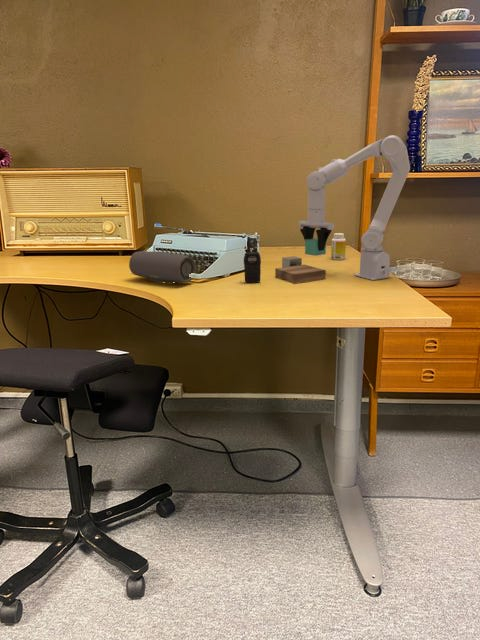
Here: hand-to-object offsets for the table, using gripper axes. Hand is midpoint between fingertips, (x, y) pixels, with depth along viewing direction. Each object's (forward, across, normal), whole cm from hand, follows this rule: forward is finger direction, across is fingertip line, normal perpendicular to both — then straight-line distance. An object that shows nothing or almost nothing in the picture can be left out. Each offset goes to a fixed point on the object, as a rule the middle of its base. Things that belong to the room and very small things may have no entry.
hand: (315, 249), depth 163 cm
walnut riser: (+8, -2, +9) cm, 12 cm away
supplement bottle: (+9, +13, -27) cm, 31 cm away
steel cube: (+9, +8, +3) cm, 12 cm away
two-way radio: (+9, +5, +24) cm, 26 cm away
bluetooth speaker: (+9, +27, +45) cm, 53 cm away
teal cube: (+2, 0, 0) cm, 2 cm away
